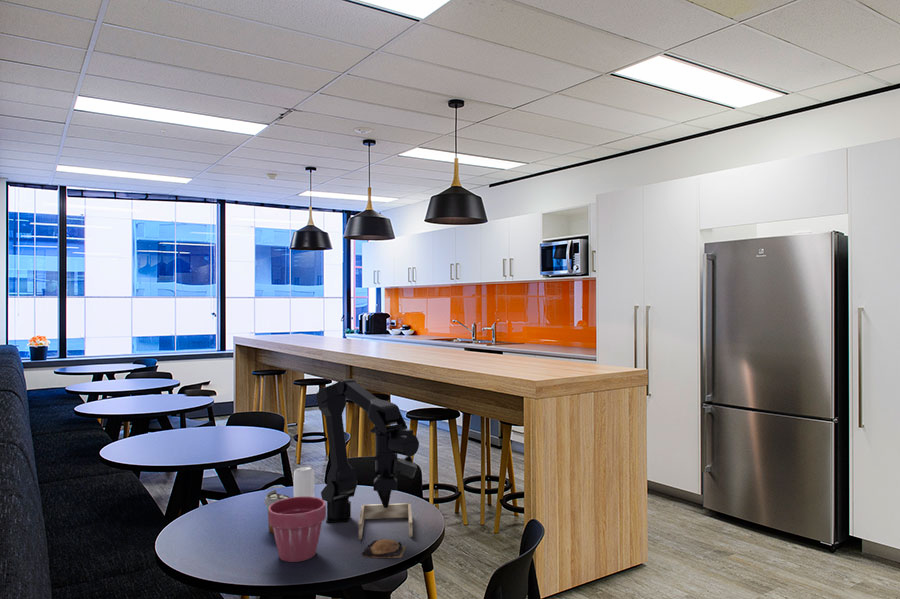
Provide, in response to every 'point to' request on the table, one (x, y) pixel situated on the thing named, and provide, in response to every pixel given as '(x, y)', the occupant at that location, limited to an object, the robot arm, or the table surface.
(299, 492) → the can
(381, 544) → the bread roll
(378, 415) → the robot arm
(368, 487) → the table surface
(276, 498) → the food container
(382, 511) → the frame
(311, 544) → the plant pot
